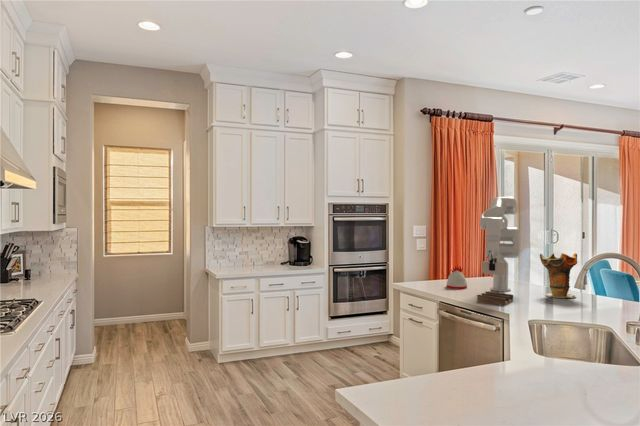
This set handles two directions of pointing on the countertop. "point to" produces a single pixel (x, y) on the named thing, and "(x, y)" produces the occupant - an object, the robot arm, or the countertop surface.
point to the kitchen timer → (456, 279)
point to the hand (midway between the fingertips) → (493, 269)
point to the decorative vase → (559, 274)
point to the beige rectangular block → (498, 268)
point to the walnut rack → (495, 298)
